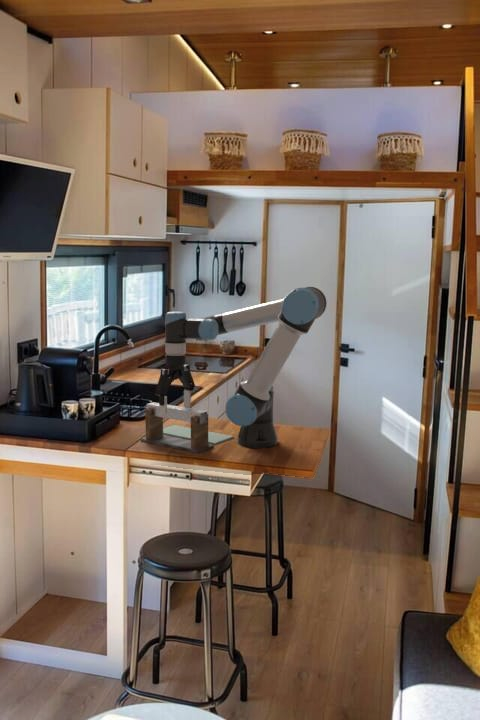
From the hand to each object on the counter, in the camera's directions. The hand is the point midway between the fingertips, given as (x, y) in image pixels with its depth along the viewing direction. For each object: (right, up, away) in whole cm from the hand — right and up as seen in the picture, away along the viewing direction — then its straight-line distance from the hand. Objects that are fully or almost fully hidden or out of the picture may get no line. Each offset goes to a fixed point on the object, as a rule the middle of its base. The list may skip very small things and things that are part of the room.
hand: (175, 410), depth 257 cm
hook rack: (0, -13, +2) cm, 13 cm away
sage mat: (+6, -11, +15) cm, 19 cm away
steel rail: (0, -3, 0) cm, 3 cm away
